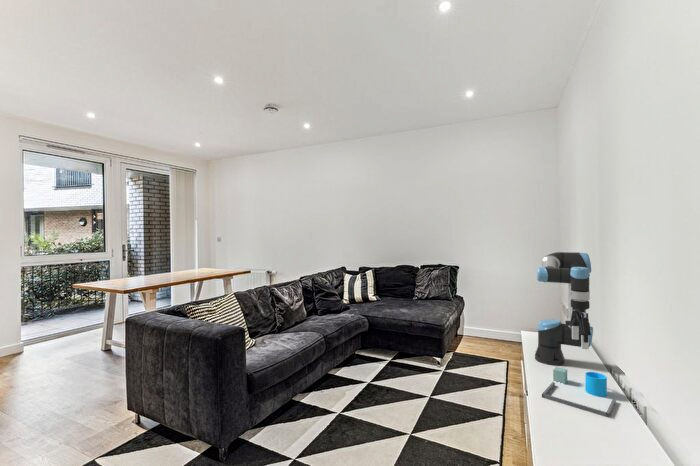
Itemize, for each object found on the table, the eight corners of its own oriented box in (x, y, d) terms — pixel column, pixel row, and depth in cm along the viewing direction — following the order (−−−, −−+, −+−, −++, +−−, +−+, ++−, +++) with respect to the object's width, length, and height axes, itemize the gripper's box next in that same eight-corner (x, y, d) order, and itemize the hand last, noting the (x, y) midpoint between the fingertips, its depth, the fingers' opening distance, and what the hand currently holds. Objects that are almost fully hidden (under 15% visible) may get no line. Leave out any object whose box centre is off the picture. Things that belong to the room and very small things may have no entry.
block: (556, 378, 180) (556, 366, 180) (567, 381, 176) (567, 369, 176) (553, 381, 176) (553, 369, 176) (564, 384, 173) (564, 372, 173)
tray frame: (552, 385, 172) (552, 382, 172) (615, 402, 155) (615, 399, 155) (541, 397, 160) (541, 394, 160) (609, 417, 142) (609, 414, 142)
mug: (606, 398, 158) (606, 380, 158) (585, 393, 163) (585, 376, 163) (606, 388, 168) (606, 371, 168) (585, 384, 173) (585, 367, 173)
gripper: (563, 294, 180) (563, 335, 180) (579, 305, 156) (580, 352, 156) (579, 294, 177) (580, 336, 178) (599, 306, 153) (599, 354, 154)
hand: (580, 344), depth 167 cm, fingers open, 13 cm apart
